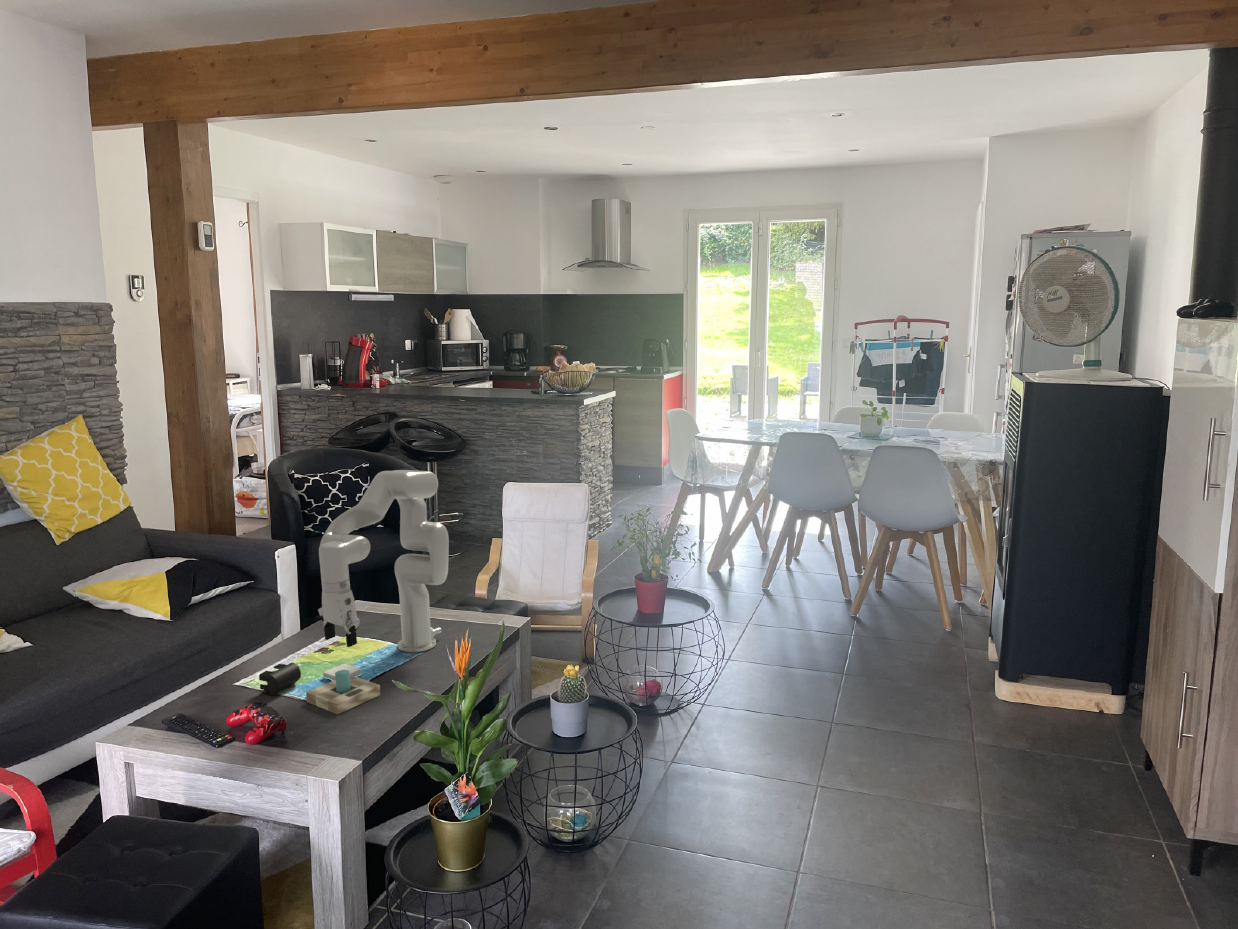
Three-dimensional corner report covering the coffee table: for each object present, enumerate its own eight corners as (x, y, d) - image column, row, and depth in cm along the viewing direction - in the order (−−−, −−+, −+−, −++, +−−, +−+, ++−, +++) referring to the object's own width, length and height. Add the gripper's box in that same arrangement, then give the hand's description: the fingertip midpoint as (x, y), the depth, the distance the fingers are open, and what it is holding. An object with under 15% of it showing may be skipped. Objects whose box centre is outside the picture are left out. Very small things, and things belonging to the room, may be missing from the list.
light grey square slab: (345, 669, 274) (344, 663, 274) (361, 675, 269) (361, 669, 269) (323, 678, 268) (323, 672, 267) (340, 684, 263) (339, 678, 263)
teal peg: (345, 694, 256) (343, 668, 255) (354, 697, 254) (352, 671, 252) (334, 699, 253) (332, 673, 252) (342, 702, 251) (340, 676, 249)
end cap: (278, 698, 254) (276, 676, 253) (259, 694, 257) (257, 673, 256) (302, 684, 264) (300, 663, 262) (283, 681, 266) (281, 660, 265)
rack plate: (349, 683, 264) (349, 674, 263) (380, 695, 256) (379, 685, 255) (306, 702, 251) (306, 692, 251) (337, 714, 243) (336, 704, 243)
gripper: (366, 586, 246) (371, 644, 249) (327, 576, 255) (333, 631, 259) (344, 594, 240) (349, 653, 243) (305, 583, 249) (311, 639, 253)
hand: (341, 641), depth 251 cm, fingers open, 9 cm apart
